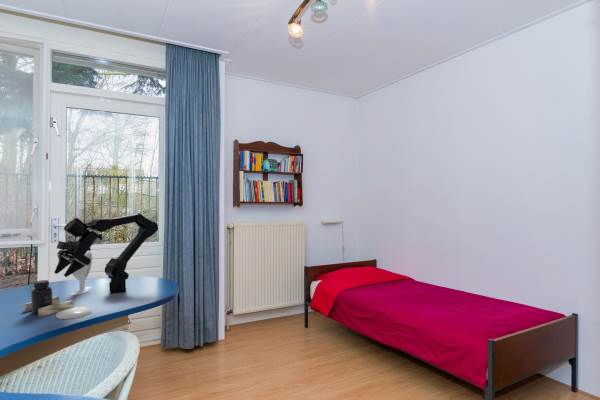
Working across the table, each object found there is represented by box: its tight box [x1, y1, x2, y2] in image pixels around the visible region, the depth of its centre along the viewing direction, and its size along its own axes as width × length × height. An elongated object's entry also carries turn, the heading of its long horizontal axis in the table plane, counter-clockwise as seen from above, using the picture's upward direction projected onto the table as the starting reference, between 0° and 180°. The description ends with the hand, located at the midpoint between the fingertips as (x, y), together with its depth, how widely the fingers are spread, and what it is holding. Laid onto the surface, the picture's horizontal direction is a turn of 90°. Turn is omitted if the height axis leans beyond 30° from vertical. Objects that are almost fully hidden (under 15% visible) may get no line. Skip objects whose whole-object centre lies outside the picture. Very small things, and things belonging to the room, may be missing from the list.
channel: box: [24, 295, 74, 318], centre depth 143 cm, size 12×12×3 cm
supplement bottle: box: [30, 279, 53, 315], centre depth 141 cm, size 7×7×12 cm
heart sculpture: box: [71, 251, 93, 296], centre depth 170 cm, size 16×5×18 cm, turn 10°
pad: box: [55, 306, 93, 320], centre depth 139 cm, size 12×12×1 cm
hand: (60, 274), depth 148 cm, fingers open, 9 cm apart
